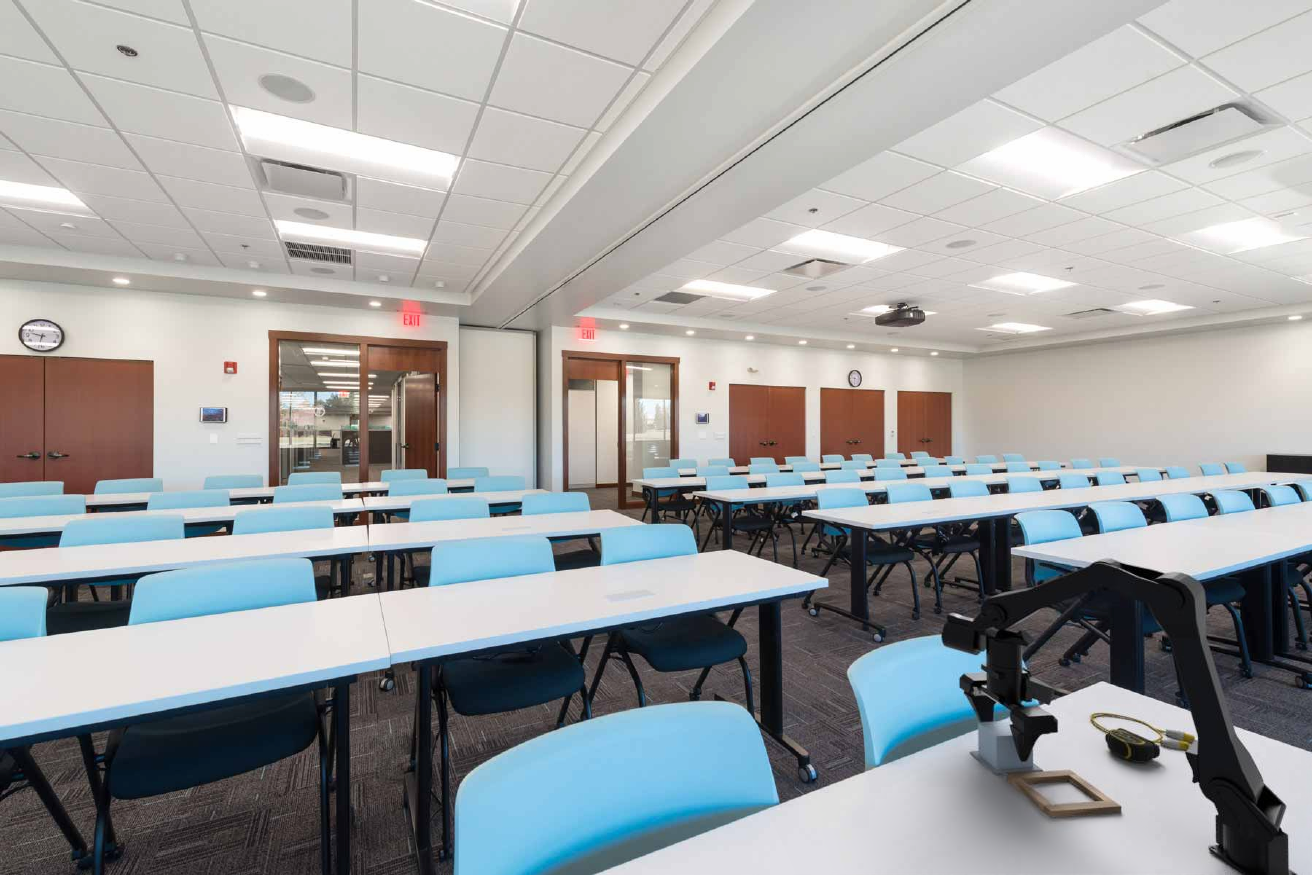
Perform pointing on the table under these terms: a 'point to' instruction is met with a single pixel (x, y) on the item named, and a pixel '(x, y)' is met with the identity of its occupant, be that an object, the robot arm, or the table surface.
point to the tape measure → (1131, 745)
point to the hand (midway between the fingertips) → (1005, 746)
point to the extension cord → (1171, 733)
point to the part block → (999, 746)
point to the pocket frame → (1068, 809)
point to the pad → (1004, 771)
